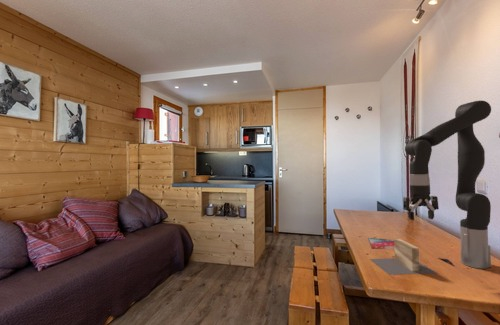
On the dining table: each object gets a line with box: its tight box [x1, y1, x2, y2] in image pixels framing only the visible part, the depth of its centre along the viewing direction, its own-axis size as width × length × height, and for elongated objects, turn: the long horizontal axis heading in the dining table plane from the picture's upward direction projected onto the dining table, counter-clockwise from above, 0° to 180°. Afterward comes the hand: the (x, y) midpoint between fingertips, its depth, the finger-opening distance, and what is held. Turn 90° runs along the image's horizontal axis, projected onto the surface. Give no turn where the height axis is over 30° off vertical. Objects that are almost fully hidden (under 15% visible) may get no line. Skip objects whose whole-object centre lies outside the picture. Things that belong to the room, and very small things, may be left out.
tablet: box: [368, 237, 395, 250], centre depth 134 cm, size 19×25×1 cm
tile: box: [393, 238, 420, 272], centre depth 107 cm, size 3×12×10 cm, turn 1°
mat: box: [369, 257, 438, 276], centre depth 107 cm, size 21×16×1 cm
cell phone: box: [437, 258, 454, 267], centre depth 113 cm, size 8×15×1 cm, turn 66°
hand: (421, 219), depth 107 cm, fingers open, 8 cm apart
